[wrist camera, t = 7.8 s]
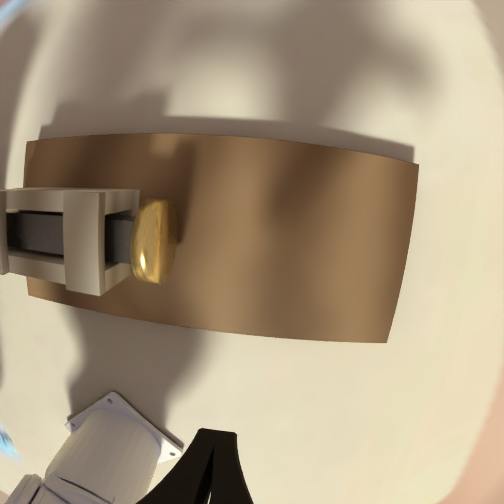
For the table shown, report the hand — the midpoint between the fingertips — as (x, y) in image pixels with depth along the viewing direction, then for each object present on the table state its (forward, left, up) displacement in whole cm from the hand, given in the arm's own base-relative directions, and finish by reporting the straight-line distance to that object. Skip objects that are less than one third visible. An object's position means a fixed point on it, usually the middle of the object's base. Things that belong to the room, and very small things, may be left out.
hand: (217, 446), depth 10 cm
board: (+2, +7, -9) cm, 12 cm away
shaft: (-2, +11, -8) cm, 14 cm away
